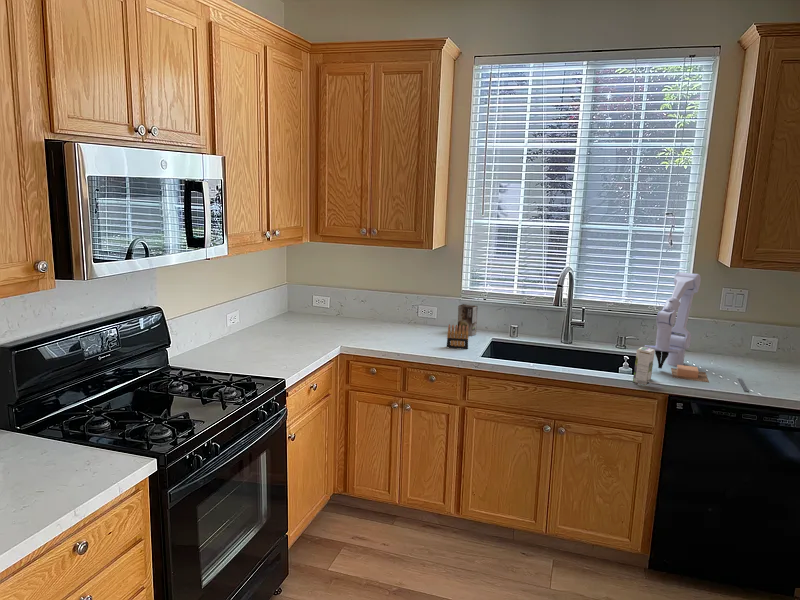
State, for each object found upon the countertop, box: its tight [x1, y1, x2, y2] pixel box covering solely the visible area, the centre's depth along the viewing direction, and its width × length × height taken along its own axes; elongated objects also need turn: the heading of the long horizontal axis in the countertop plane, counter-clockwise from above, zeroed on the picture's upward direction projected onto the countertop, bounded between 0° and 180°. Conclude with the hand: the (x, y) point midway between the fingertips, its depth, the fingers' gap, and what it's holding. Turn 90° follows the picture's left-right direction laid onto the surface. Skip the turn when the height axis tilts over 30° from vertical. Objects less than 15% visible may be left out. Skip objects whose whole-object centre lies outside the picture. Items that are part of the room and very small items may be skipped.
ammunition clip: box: [446, 324, 469, 350], centre depth 290 cm, size 11×2×12 cm, turn 82°
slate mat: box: [737, 377, 750, 393], centre depth 248 cm, size 18×14×1 cm
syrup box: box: [632, 346, 655, 386], centre depth 244 cm, size 6×6×14 cm
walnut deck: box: [670, 367, 710, 384], centre depth 253 cm, size 16×14×2 cm
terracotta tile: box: [676, 365, 700, 378], centre depth 253 cm, size 7×8×3 cm
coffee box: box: [457, 303, 478, 337], centre depth 319 cm, size 9×6×16 cm
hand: (660, 367), depth 257 cm, fingers closed
